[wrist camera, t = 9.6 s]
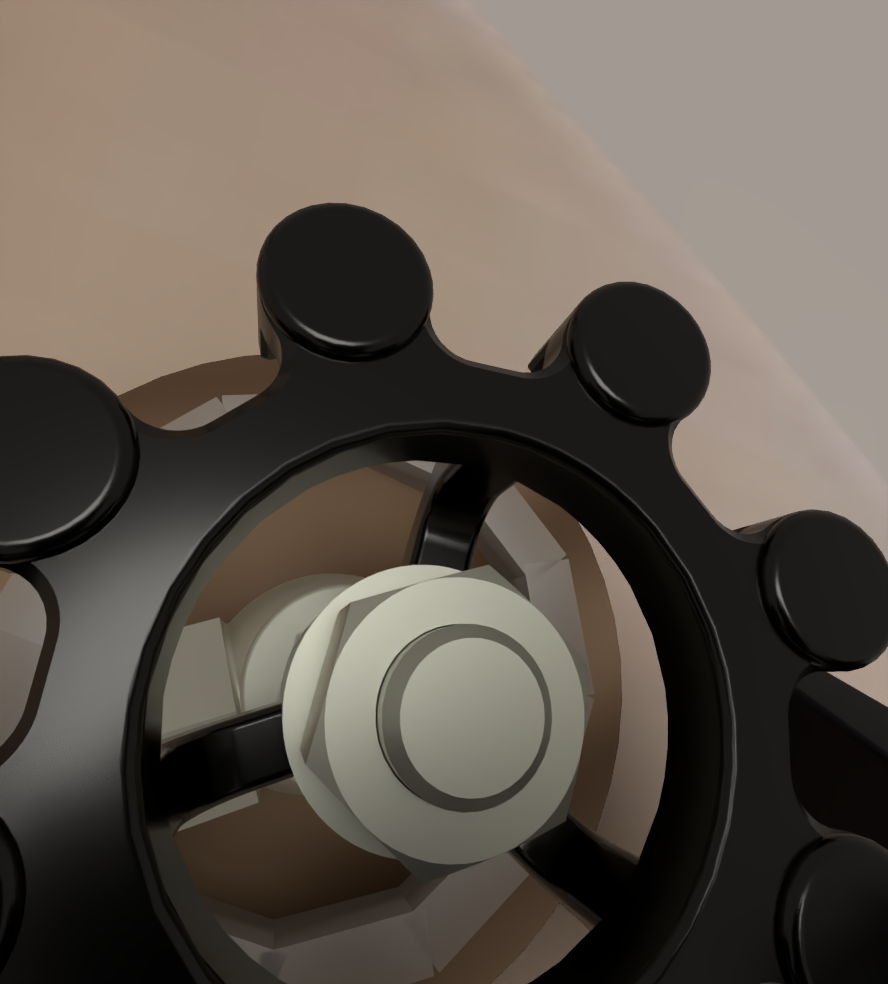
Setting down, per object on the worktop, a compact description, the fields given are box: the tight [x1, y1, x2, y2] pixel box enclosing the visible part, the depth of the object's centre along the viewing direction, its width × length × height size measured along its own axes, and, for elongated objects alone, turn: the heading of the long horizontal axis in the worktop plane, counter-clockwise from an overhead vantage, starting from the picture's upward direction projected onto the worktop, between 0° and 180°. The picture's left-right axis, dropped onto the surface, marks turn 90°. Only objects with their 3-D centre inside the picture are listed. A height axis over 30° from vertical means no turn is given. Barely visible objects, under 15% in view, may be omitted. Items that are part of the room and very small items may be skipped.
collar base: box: [0, 355, 622, 984], centre depth 14 cm, size 16×16×2 cm
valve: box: [0, 203, 888, 984], centre depth 9 cm, size 7×7×12 cm
